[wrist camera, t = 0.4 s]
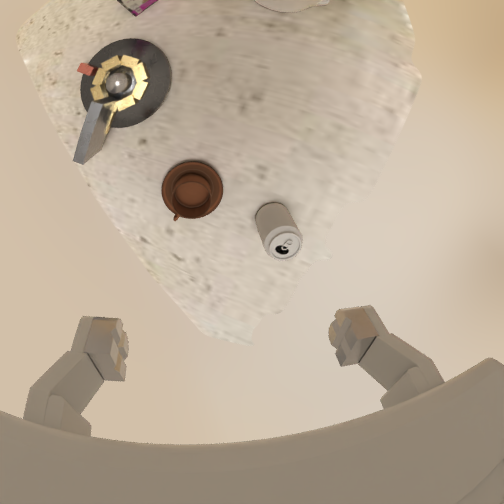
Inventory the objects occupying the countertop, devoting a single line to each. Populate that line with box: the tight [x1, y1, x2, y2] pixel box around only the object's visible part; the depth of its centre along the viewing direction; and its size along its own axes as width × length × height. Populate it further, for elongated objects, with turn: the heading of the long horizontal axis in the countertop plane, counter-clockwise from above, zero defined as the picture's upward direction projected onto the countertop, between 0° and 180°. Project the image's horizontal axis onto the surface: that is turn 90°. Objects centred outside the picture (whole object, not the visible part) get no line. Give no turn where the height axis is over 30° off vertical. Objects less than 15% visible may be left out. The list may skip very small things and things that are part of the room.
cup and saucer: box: [162, 162, 223, 221], centre depth 50 cm, size 12×12×6 cm
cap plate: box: [77, 39, 171, 128], centre depth 35 cm, size 17×17×6 cm
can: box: [255, 203, 303, 261], centre depth 54 cm, size 8×8×12 cm
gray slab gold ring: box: [73, 55, 150, 164], centre depth 34 cm, size 18×10×9 cm, turn 150°
